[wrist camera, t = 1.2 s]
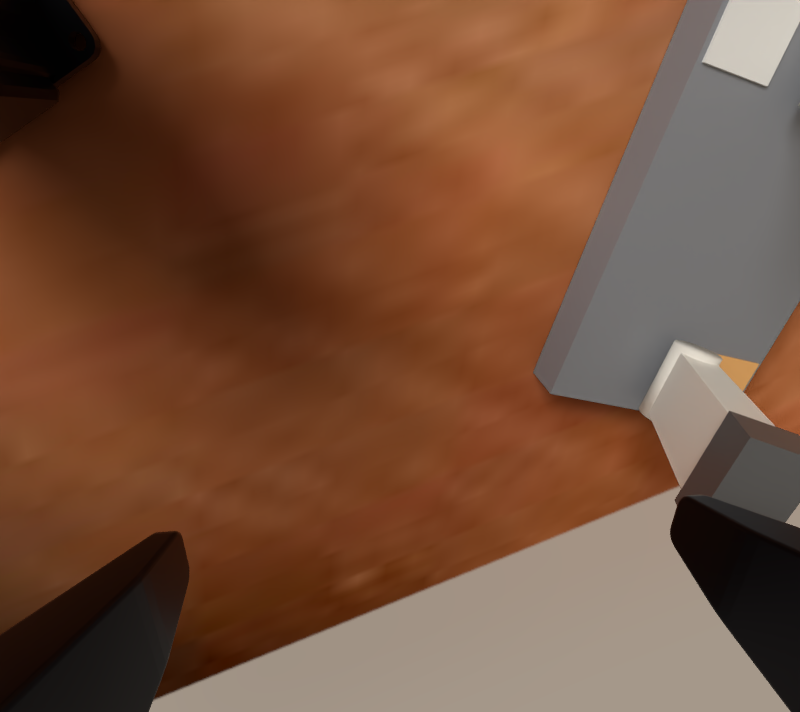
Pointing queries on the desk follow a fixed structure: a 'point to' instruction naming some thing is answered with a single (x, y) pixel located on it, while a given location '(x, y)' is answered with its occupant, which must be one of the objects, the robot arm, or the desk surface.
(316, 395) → the desk surface
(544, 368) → the switch base
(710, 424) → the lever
